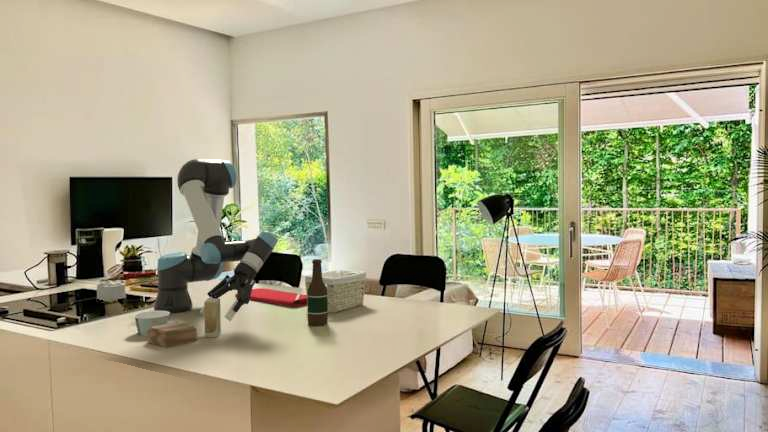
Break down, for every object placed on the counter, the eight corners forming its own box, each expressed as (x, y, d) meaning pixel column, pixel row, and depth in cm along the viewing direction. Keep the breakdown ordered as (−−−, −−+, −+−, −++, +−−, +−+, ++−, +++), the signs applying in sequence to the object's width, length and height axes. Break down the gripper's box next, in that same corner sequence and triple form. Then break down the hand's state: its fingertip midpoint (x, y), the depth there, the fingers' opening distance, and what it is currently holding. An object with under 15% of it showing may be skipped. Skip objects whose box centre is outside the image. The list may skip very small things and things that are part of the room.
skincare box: (208, 333, 202) (207, 298, 202) (221, 332, 203) (220, 298, 202) (204, 337, 196) (203, 301, 195) (217, 337, 196) (216, 301, 196)
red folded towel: (262, 293, 282) (261, 285, 282) (319, 303, 256) (319, 295, 255) (234, 298, 270) (234, 290, 270) (292, 309, 244) (292, 300, 244)
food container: (148, 338, 196) (147, 319, 196) (126, 333, 202) (125, 315, 202) (177, 330, 206) (177, 312, 206) (156, 326, 212) (155, 309, 212)
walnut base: (147, 342, 190) (147, 327, 190) (177, 335, 199) (177, 321, 199) (166, 347, 184) (166, 332, 184) (196, 340, 193) (196, 325, 192)
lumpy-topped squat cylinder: (107, 303, 258) (107, 283, 258) (91, 300, 265) (90, 281, 265) (128, 299, 267) (128, 280, 266) (112, 296, 274) (112, 278, 274)
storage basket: (338, 301, 259) (338, 268, 259) (368, 304, 251) (368, 271, 250) (303, 310, 239) (302, 275, 238) (334, 315, 230) (334, 278, 230)
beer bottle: (324, 326, 210) (323, 261, 209) (304, 326, 212) (303, 260, 211) (330, 322, 218) (330, 258, 217) (311, 321, 219) (310, 258, 218)
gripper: (277, 276, 205) (244, 327, 194) (232, 271, 220) (199, 318, 209) (265, 263, 200) (231, 314, 189) (220, 259, 215) (186, 306, 204)
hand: (214, 316), depth 199 cm, fingers open, 13 cm apart
